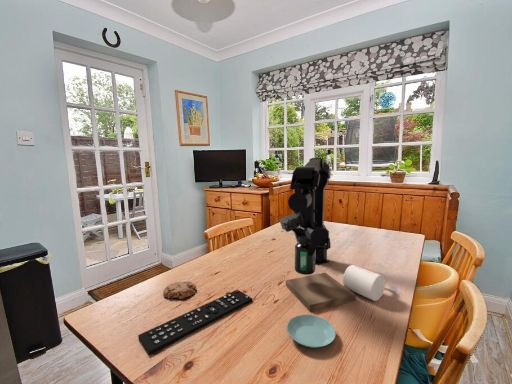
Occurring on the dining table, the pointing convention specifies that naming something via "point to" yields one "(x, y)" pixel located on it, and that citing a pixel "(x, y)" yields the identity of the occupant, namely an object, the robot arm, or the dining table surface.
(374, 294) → the mug
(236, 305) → the remote control
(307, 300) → the walnut board
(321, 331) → the saucer
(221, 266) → the dining table surface
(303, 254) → the supplement bottle
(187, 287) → the cookie
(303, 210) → the robot arm
